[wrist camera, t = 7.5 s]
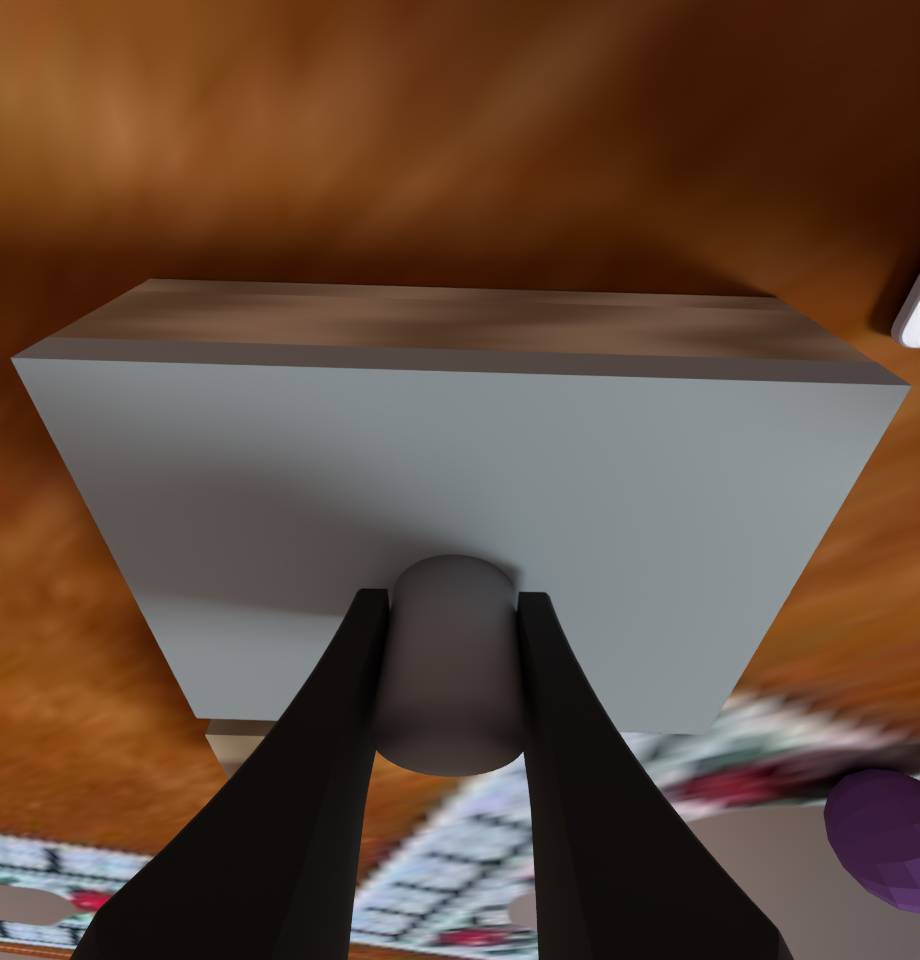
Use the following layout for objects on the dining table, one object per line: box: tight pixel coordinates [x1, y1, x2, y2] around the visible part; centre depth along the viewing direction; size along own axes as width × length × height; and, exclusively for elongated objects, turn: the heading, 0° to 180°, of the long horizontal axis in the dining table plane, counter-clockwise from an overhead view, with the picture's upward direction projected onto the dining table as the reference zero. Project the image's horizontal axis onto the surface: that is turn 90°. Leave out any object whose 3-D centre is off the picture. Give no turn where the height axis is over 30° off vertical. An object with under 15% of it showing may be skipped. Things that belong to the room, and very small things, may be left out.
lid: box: [11, 337, 912, 777], centre depth 12 cm, size 16×12×6 cm
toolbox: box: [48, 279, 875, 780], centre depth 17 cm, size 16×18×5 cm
